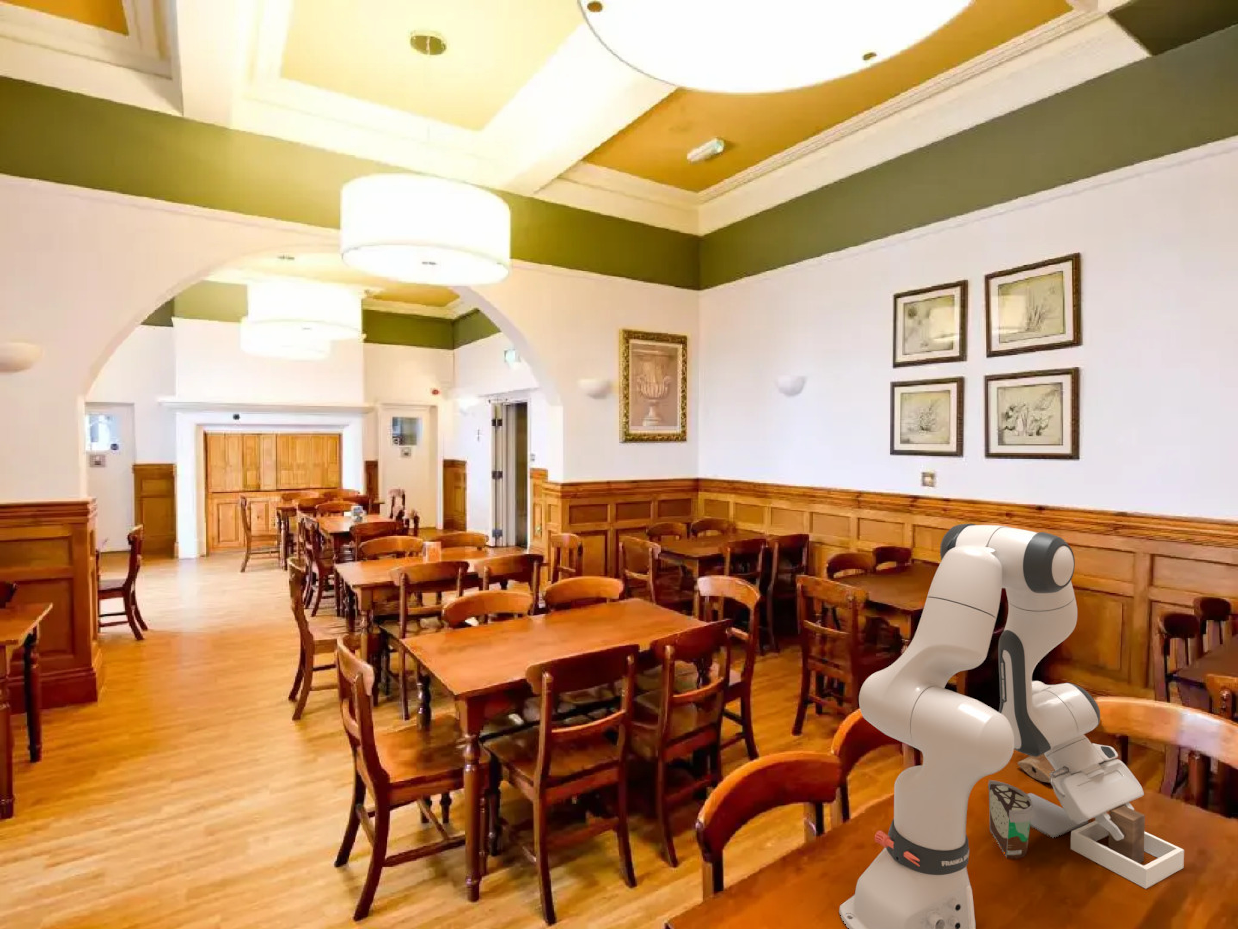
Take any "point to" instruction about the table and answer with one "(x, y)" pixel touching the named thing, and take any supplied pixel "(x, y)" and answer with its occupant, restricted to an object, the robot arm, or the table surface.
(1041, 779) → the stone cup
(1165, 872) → the tray
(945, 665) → the robot arm
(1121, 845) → the walnut block
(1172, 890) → the table surface
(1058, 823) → the rubber mat
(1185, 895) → the table surface
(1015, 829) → the food container
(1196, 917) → the table surface
